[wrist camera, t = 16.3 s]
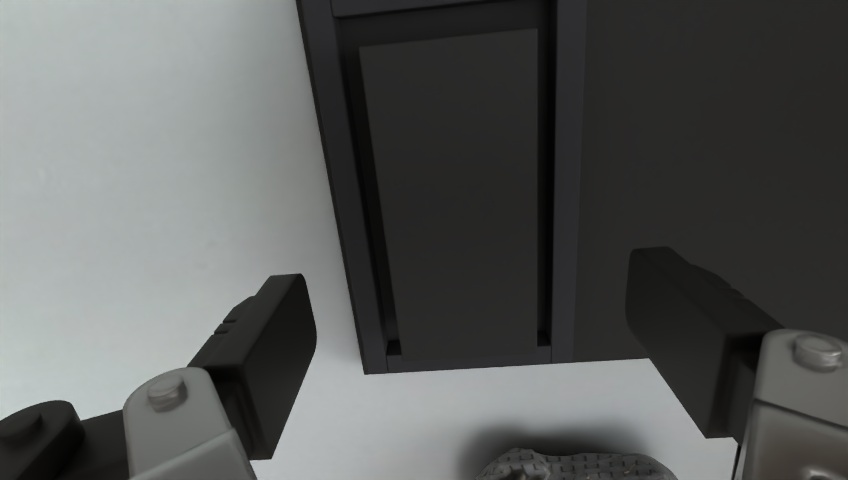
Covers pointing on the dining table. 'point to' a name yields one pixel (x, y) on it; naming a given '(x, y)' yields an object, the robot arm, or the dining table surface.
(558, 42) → the dock pad
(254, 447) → the robot arm
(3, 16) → the dining table surface
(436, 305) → the strip pad
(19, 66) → the dining table surface
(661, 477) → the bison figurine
